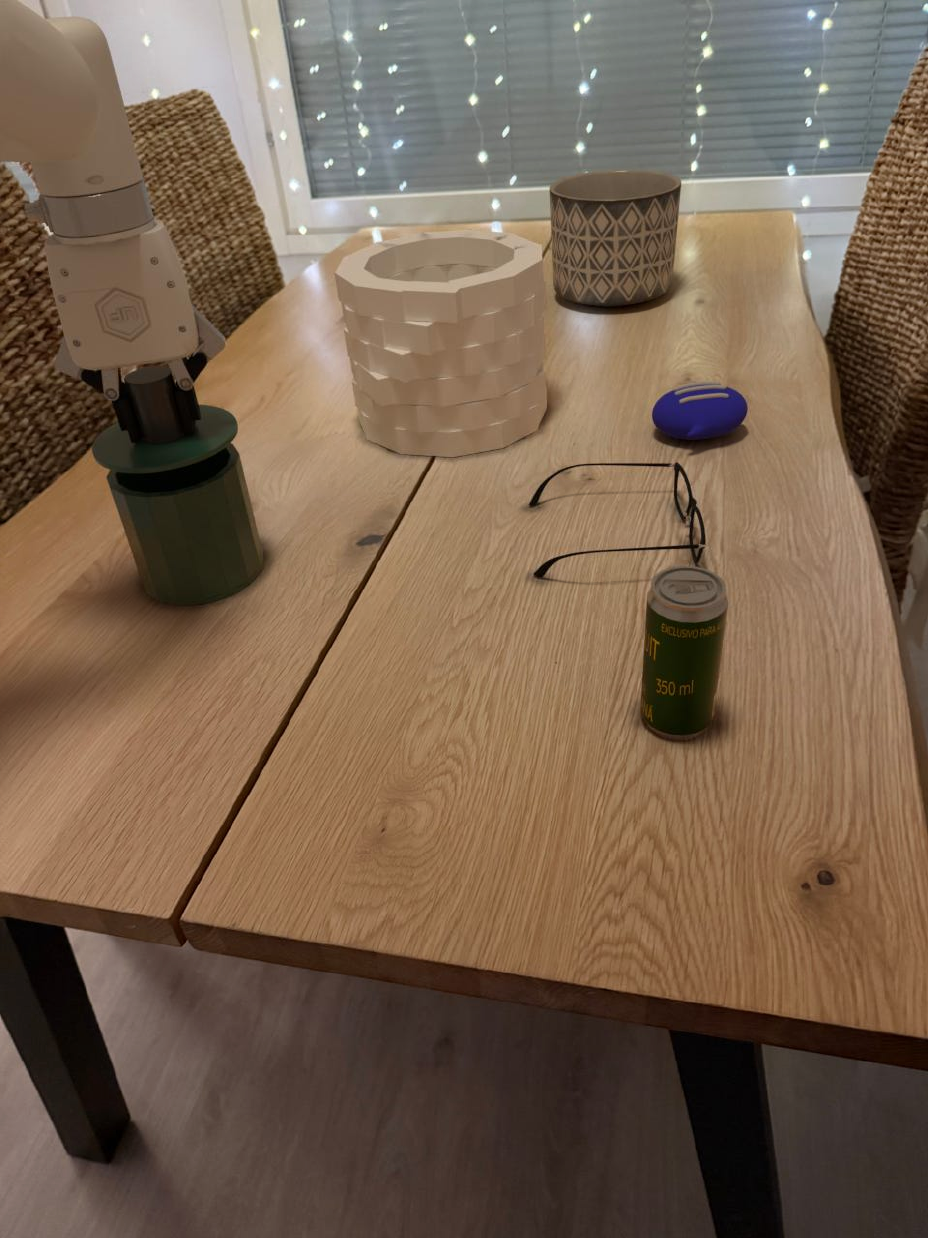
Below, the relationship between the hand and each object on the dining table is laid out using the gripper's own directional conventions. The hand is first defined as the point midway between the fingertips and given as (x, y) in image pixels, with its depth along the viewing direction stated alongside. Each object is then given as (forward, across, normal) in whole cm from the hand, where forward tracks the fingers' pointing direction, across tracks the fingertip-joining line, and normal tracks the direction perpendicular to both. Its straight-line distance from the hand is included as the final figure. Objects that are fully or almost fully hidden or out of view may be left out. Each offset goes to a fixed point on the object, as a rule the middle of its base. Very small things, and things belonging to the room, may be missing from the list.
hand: (164, 430), depth 81 cm
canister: (+15, 0, 0) cm, 15 cm away
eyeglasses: (+15, +40, -6) cm, 43 cm away
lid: (+1, 0, 0) cm, 1 cm away
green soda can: (+15, +36, -31) cm, 50 cm away
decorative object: (+15, +55, +12) cm, 59 cm away
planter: (+15, +62, +62) cm, 89 cm away
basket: (+15, +29, +27) cm, 43 cm away
